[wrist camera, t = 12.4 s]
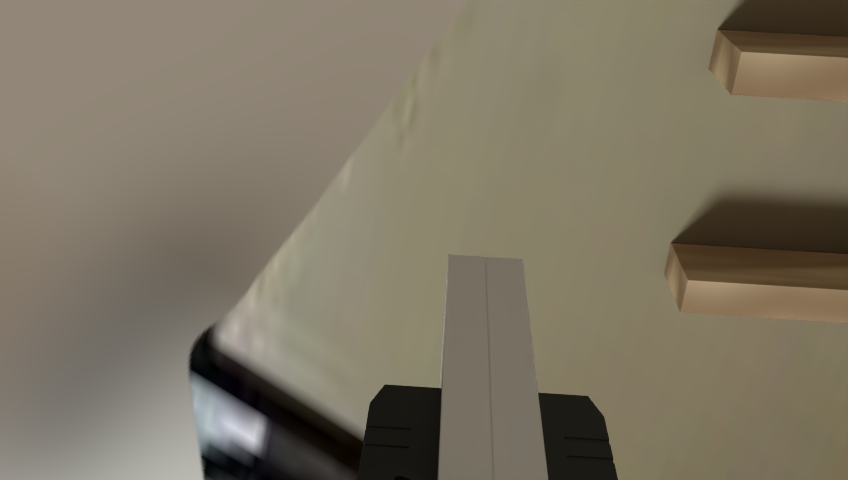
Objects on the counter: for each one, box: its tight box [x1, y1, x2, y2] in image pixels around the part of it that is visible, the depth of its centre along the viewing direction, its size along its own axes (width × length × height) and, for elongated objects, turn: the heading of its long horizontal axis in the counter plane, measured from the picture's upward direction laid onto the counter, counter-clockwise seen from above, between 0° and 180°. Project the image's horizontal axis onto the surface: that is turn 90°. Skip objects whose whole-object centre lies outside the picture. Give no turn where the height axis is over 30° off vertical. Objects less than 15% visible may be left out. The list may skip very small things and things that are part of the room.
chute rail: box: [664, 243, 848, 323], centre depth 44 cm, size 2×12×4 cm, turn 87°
